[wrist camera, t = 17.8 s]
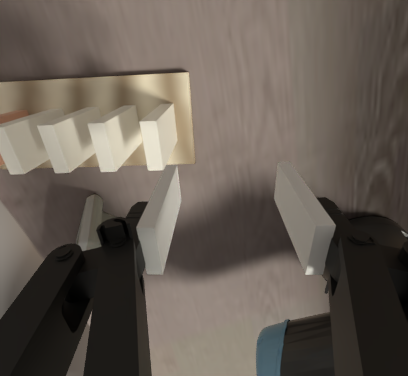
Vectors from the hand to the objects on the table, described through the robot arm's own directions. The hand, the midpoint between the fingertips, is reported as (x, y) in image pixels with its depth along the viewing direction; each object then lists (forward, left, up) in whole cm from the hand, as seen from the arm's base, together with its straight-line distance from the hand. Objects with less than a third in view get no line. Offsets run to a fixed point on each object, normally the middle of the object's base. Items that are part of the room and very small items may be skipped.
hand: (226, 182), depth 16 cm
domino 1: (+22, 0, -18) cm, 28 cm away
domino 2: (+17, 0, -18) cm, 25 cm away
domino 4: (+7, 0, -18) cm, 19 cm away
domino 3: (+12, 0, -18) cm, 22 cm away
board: (+19, 0, -19) cm, 27 cm away
